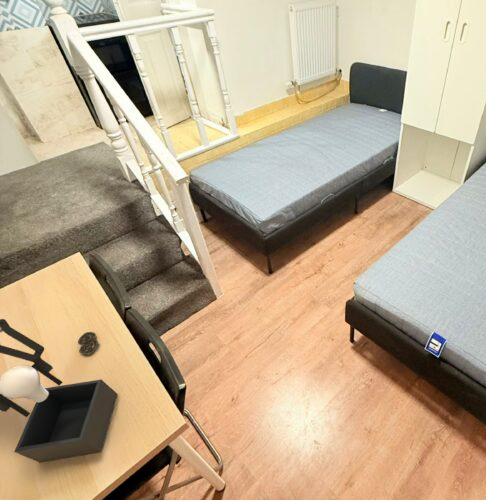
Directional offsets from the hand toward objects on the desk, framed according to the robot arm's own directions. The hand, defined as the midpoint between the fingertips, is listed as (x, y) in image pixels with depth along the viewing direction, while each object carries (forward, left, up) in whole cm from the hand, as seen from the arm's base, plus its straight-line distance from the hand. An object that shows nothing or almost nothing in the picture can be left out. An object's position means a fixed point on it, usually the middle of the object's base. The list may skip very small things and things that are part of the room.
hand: (45, 398), depth 67 cm
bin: (-3, +1, -18) cm, 18 cm away
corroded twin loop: (-8, +24, -18) cm, 31 cm away
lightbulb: (-3, +2, -4) cm, 5 cm away
